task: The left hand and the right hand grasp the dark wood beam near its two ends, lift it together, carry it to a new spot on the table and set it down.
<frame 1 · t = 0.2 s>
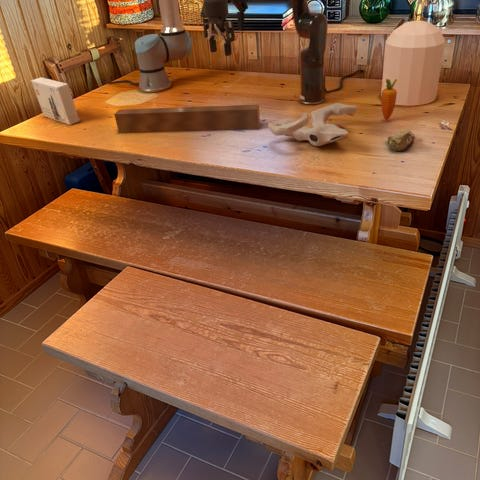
left hand: (226, 33, 179), 28 cm above the table, tool pointing down, fingers open, 13 cm apart
right hand: (220, 53, 152), 28 cm above the table, tool pointing down, fingers open, 8 cm apart
rock: (401, 146, 148), on the table
container: (407, 97, 184), on the table
animal horns: (319, 143, 155), on the table
carrot: (386, 121, 166), on the table
skincare box: (61, 119, 197), on the table
beam: (188, 128, 176), on the table
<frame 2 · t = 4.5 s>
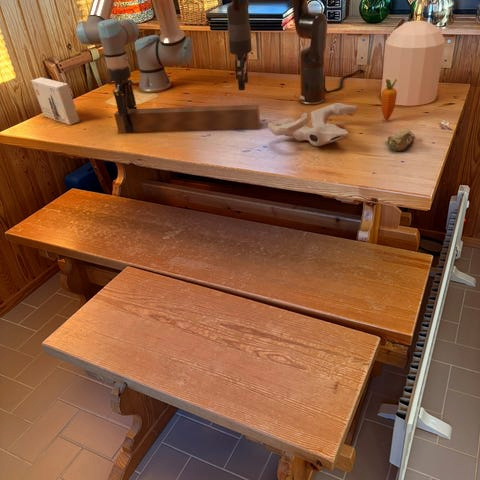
left hand: (132, 129, 179), 1 cm above the table, tool pointing down, fingers closed on beam, 5 cm apart
right hand: (243, 86, 164), 15 cm above the table, tool pointing down, fingers open, 8 cm apart
beam: (188, 128, 176), on the table, touching left hand
everything else where it was.
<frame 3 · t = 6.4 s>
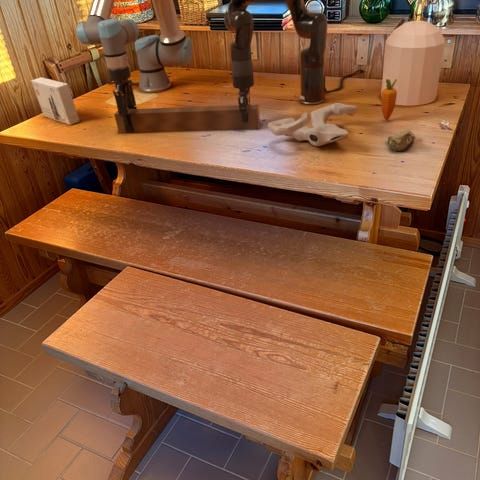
left hand: (132, 129, 179), 1 cm above the table, tool pointing down, fingers closed on beam, 5 cm apart
right hand: (246, 119, 171), 3 cm above the table, tool pointing down, fingers closed on beam, 5 cm apart
beam: (188, 128, 176), on the table, touching left hand, right hand
everything else where it was.
when the left hand's fingers open (2 cm above the table, at t = 11.9 s): beam drops 1 cm, on the table.
when the right hand's fingers open (4 cm above the table, at t = 12.1 s): beam stays where it is, on the table.
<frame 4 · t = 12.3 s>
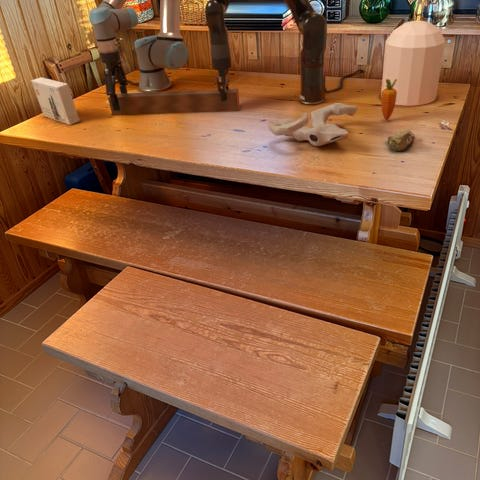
left hand: (121, 105, 196), 3 cm above the table, tool pointing down, fingers open, 10 cm apart
right hand: (225, 98, 188), 5 cm above the table, tool pointing down, fingers open, 6 cm apart
beam: (175, 111, 194), on the table
everything else where it was.
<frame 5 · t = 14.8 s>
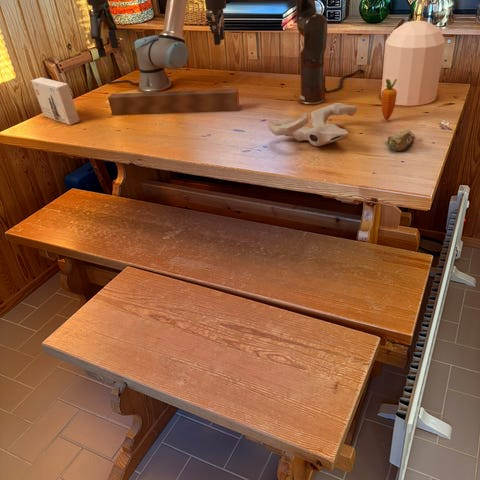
left hand: (109, 52, 184), 25 cm above the table, tool pointing down, fingers open, 13 cm apart
right hand: (219, 42, 176), 26 cm above the table, tool pointing down, fingers open, 8 cm apart
nothing on the table moved.
at the end: beam inside the target area (0.6 cm from its centre), on the table; beam tilted 0°; beam never tilted more than 2° during the clip; both hands held the beam at the same time; the left hand is holding nothing; the right hand is holding nothing; beam at rest at the end (0.0 cm/s) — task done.
